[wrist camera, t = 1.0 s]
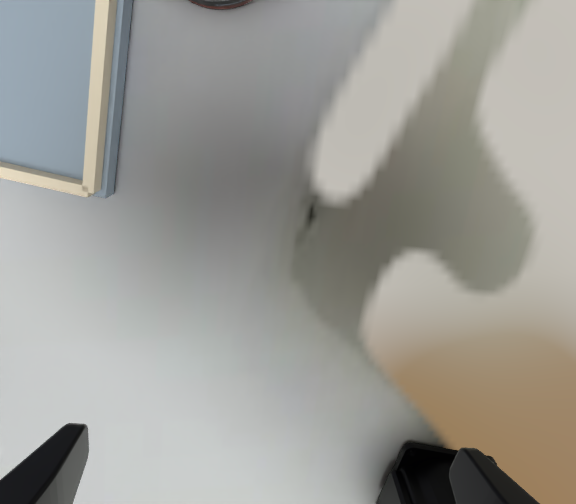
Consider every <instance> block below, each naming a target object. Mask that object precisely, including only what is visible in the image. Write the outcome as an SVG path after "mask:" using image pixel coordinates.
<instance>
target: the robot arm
mask: <svg viewBox="0 0 576 504" xmlns="http://www.w3.org/2000/svg"><path fill="white" fill-rule="evenodd" d="M88 453H89V442H88V427H87V425H86V424H77V423H68V424H66V425H65V426H63V427H62V428H61V429H60V430H59V431H57V432H56V433H55V434H54V435H53V436H51V437H50V438H49V439H48V440H47V441H46V442H44V443H43V444H42V445H41V446H40V447H39V448H37V449H36V450H35V451H34V452H33V453H31V454H30V455H29V456H28V457H27V458H26V459H24V460H23V461H22V462H21V463H20V464H19V465H17V466H16V467H15V468H14V469H13V470H12V471H10V472H9V473H8V474H7V475H6V476H4V477H3V478H2V479H1V480H0V504H73V501H74V498H75V495H76V492H77V489H78V486H79V483H80V480H81V477H82V474H83V471H84V468H85V465H86V462H87V458H88ZM377 504H540V503H538V502H537V501H536V500H535V499H534V498H533V497H532V496H530V495H529V494H528V493H527V492H526V491H525V490H524V489H522V488H521V487H520V486H519V485H518V484H517V483H516V482H515V481H513V480H512V479H511V478H510V477H509V476H508V475H507V474H506V473H504V472H503V471H502V470H501V469H500V468H499V467H498V466H497V463H496V462H495V460H494V459H493V458H492V457H491V456H486V455H484V454H483V453H482V452H481V451H479V450H478V449H475V448H461V449H460V450H459V451H457V450H452V449H446V448H440V447H434V446H429V445H423V444H417V443H407V444H405V445H404V446H403V448H402V450H401V452H400V454H399V457H398V459H397V461H396V463H395V465H394V467H393V470H392V471H391V472H390V474H389V476H388V478H387V480H386V483H385V485H384V487H383V489H382V491H381V494H380V496H379V500H378V502H377Z"/></svg>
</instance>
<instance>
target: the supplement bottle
mask: <svg viewBox="0 0 576 504" xmlns="http://www.w3.org/2000/svg"><path fill="white" fill-rule="evenodd" d="M189 1H191V2H192V3H195V4H197V5H200V6H202V7H206V8H211V9H230V8H235V7H238V6H242V5H244V4H246V3H249V2H251V1H252V0H189Z"/></svg>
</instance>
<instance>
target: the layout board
mask: <svg viewBox="0 0 576 504" xmlns="http://www.w3.org/2000/svg"><path fill="white" fill-rule="evenodd" d="M132 4H133V0H0V178H3V179H8V180H12V181H17V182H21V183H25V184H30V185H34V186H39V187H43V188H48V189H52V190H56V191H61V192H65V193H70V194H74V195H78V196H83V197H89V196H91V195H94V196H98V197H102V198H107V197H109V196H111V195H112V194H114V186H115V176H116V166H117V156H118V145H119V135H120V125H121V115H122V105H123V95H124V85H125V75H126V65H127V55H128V45H129V34H130V24H131V14H132Z"/></svg>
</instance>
